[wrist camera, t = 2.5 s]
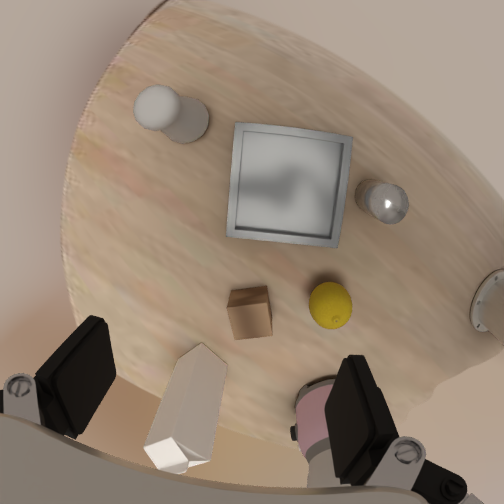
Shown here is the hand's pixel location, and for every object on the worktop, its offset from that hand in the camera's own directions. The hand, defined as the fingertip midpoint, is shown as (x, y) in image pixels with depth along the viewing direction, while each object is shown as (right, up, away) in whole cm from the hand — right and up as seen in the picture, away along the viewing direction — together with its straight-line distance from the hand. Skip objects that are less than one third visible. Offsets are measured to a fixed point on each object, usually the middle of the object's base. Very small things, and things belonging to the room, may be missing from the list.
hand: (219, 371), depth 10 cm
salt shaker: (-7, +21, +23) cm, 32 cm away
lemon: (+11, -1, +30) cm, 32 cm away
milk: (-7, -13, +35) cm, 38 cm away
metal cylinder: (+17, +12, +25) cm, 32 cm away
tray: (+6, +13, +25) cm, 29 cm away
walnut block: (+1, -3, +31) cm, 31 cm away
